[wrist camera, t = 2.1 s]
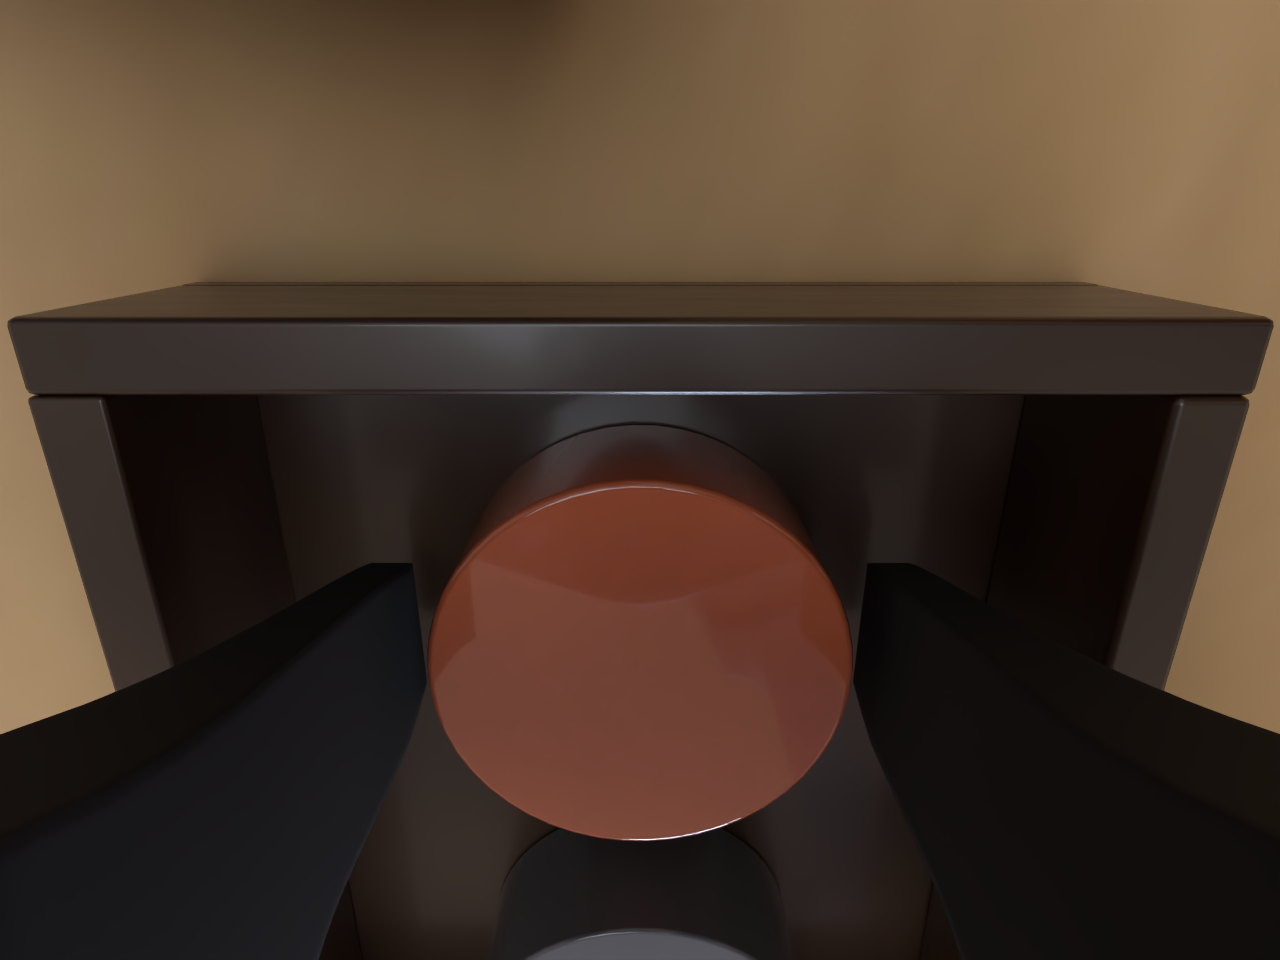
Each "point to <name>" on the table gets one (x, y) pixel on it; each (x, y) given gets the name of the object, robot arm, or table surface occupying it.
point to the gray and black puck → (640, 901)
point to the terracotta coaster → (639, 638)
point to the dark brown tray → (639, 395)
